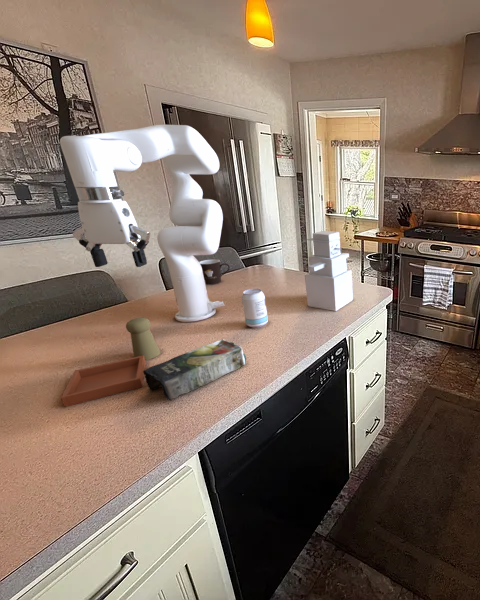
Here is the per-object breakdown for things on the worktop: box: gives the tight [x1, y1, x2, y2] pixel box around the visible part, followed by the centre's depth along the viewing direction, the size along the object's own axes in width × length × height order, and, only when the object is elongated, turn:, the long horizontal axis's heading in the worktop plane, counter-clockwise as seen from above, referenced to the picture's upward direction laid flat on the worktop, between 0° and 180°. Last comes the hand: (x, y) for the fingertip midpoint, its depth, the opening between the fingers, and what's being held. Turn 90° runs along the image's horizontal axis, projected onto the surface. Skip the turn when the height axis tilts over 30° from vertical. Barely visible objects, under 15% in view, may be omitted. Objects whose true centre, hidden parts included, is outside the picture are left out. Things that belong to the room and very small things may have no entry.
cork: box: [125, 317, 161, 361], centre depth 89 cm, size 6×6×11 cm
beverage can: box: [241, 288, 269, 329], centre depth 108 cm, size 7×7×12 cm
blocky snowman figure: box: [304, 230, 354, 312], centre depth 125 cm, size 13×24×28 cm, turn 158°
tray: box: [60, 355, 147, 408], centre depth 79 cm, size 14×13×2 cm
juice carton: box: [143, 338, 247, 401], centre depth 81 cm, size 20×10×6 cm, turn 149°
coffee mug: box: [198, 259, 231, 285], centre depth 151 cm, size 12×9×10 cm
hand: (121, 265), depth 82 cm, fingers open, 9 cm apart
